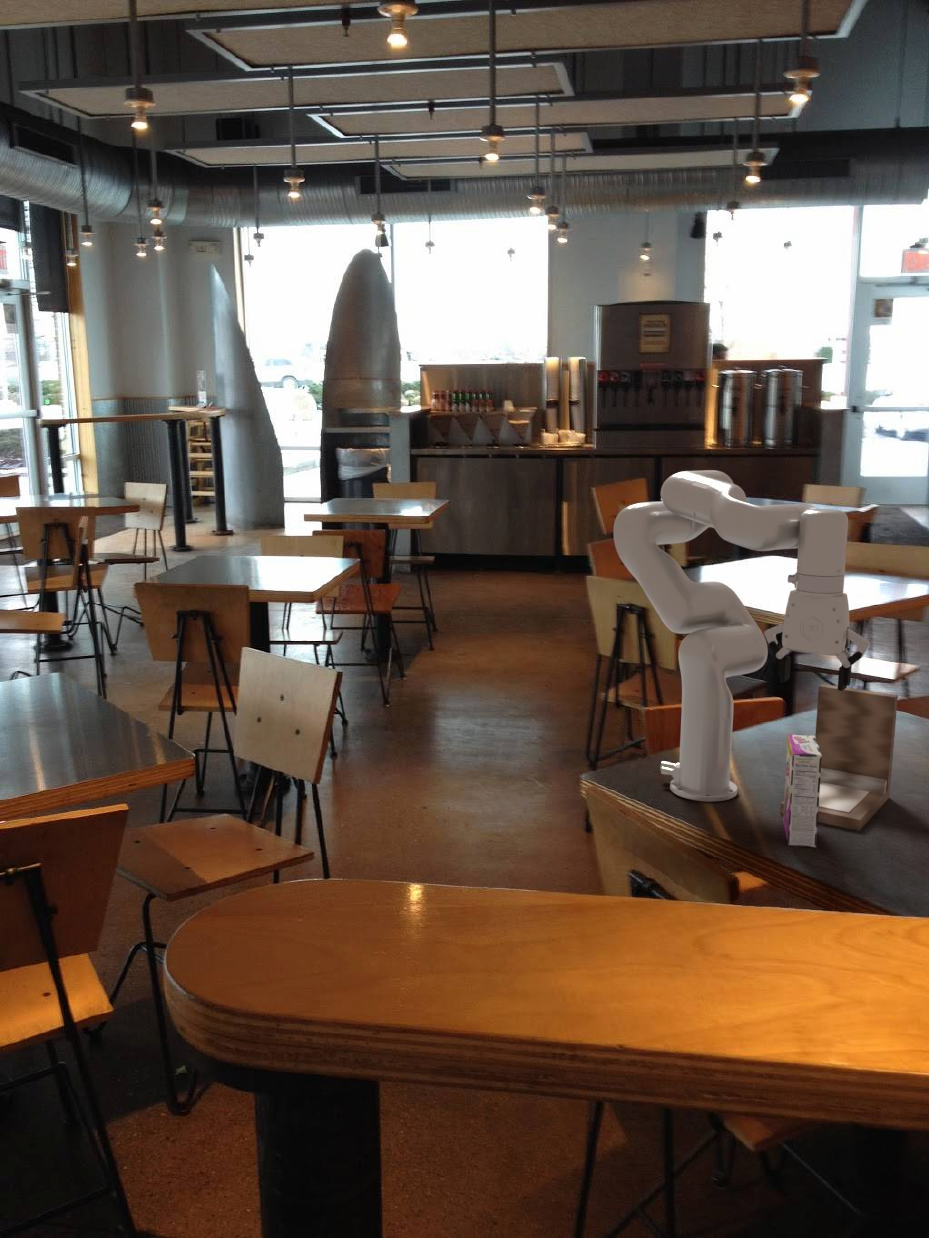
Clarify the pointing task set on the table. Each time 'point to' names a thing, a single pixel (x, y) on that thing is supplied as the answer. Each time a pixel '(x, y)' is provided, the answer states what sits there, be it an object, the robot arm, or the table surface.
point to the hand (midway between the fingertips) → (813, 684)
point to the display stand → (854, 754)
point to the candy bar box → (802, 790)
